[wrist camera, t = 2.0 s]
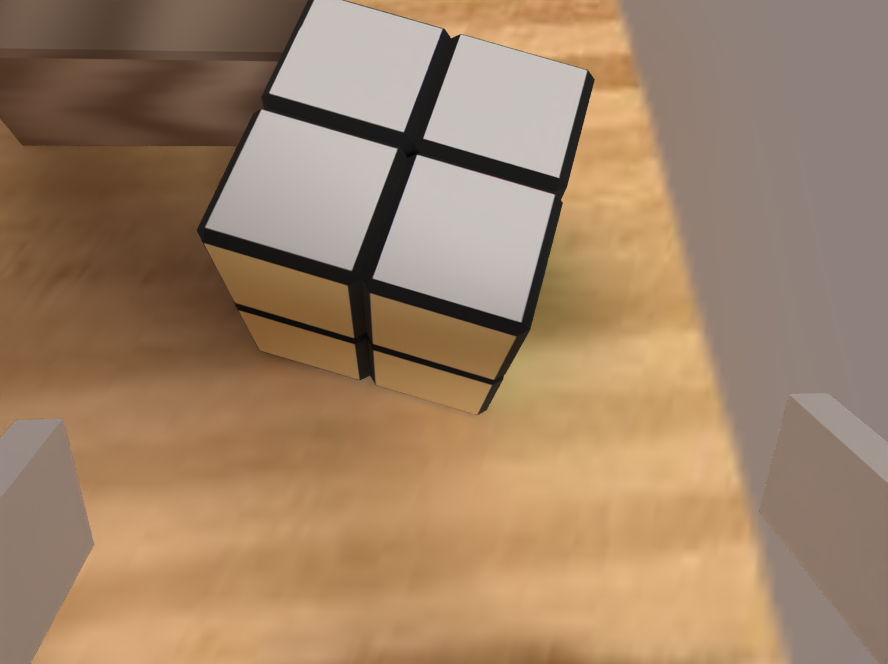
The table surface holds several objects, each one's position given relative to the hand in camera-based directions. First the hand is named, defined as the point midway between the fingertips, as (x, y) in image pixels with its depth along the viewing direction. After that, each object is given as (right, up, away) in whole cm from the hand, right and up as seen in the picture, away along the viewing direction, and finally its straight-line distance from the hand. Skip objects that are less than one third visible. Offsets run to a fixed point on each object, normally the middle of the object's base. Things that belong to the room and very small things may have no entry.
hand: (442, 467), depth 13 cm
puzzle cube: (-2, +5, +18) cm, 18 cm away
